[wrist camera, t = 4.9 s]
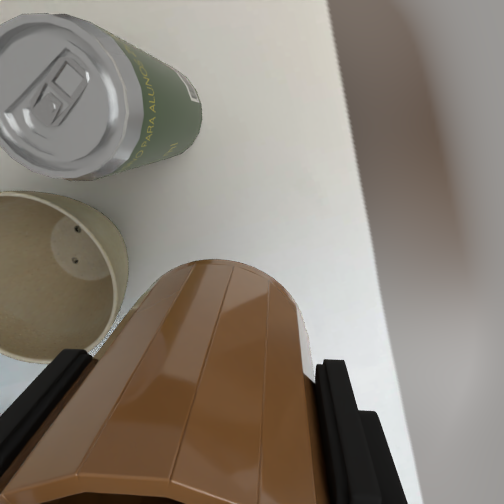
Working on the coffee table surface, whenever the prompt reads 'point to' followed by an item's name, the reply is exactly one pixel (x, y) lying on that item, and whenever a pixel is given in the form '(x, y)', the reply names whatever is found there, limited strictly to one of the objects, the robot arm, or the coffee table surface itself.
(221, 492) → the wooden cup
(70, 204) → the flower pot
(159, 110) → the beer can
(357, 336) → the coffee table surface
